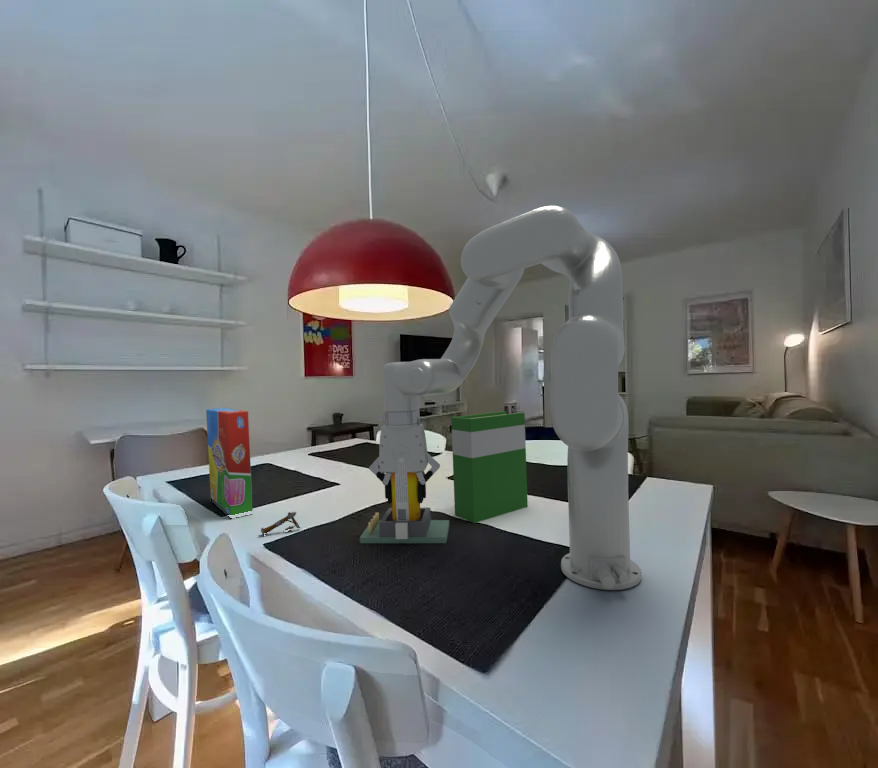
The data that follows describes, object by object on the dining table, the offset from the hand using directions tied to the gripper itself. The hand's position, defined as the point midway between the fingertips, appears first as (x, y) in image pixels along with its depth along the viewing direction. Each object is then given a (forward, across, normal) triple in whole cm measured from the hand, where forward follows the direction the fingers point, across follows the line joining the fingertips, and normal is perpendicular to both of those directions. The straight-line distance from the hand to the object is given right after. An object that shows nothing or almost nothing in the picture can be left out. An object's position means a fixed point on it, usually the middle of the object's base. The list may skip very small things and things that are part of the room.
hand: (405, 500), depth 90 cm
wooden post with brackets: (+8, -29, +1) cm, 30 cm away
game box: (+7, -52, +18) cm, 56 cm away
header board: (+7, 0, 0) cm, 7 cm away
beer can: (+5, 0, 0) cm, 5 cm away
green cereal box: (+8, +19, +15) cm, 25 cm away
